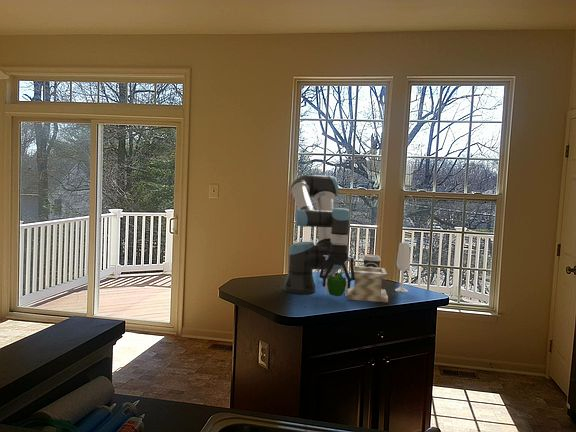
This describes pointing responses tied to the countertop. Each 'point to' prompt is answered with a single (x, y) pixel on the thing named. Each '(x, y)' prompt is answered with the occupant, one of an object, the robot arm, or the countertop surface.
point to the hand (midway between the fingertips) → (335, 294)
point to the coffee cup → (372, 261)
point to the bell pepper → (336, 285)
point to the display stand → (368, 284)
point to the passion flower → (332, 273)
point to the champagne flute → (403, 262)
